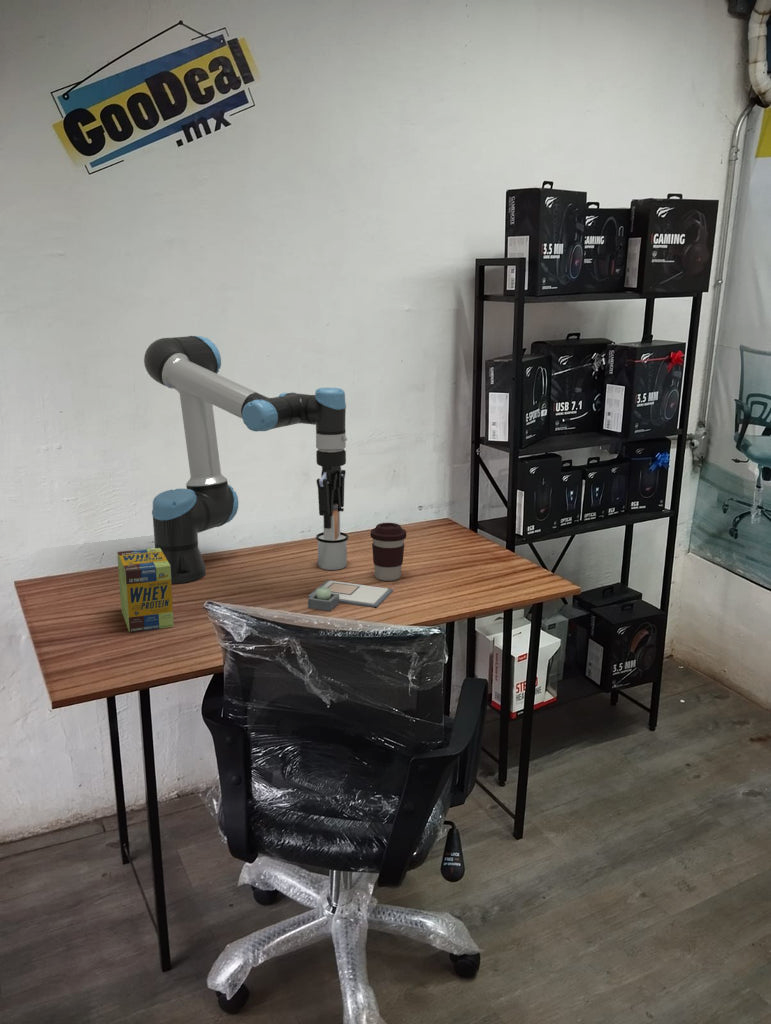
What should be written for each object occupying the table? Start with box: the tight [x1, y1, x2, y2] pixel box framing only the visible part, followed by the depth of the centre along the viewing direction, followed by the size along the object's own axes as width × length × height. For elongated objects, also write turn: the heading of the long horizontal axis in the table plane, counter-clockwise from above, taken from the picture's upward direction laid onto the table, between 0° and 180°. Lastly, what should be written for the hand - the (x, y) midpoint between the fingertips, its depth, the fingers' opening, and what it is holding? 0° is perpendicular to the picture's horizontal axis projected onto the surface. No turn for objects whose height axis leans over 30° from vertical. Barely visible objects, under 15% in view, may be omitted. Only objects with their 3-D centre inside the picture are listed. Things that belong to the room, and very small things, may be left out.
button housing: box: [307, 592, 340, 612], centre depth 215 cm, size 6×6×2 cm
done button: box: [316, 587, 331, 600], centre depth 215 cm, size 4×4×3 cm
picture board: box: [307, 579, 394, 609], centre depth 223 cm, size 19×13×1 cm
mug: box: [315, 531, 350, 571], centre depth 246 cm, size 12×10×9 cm
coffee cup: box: [369, 522, 407, 582], centre depth 235 cm, size 10×10×15 cm
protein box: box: [116, 547, 175, 634], centre depth 203 cm, size 10×15×16 cm
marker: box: [333, 503, 338, 540], centre depth 220 cm, size 3×3×9 cm
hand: (332, 537), depth 221 cm, fingers closed on marker, 3 cm apart
